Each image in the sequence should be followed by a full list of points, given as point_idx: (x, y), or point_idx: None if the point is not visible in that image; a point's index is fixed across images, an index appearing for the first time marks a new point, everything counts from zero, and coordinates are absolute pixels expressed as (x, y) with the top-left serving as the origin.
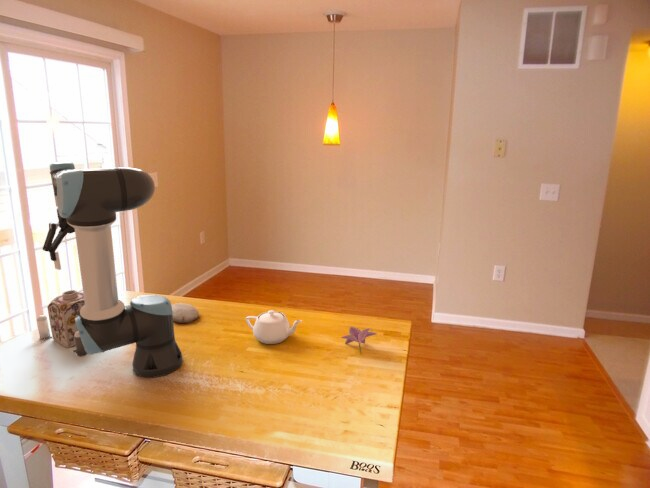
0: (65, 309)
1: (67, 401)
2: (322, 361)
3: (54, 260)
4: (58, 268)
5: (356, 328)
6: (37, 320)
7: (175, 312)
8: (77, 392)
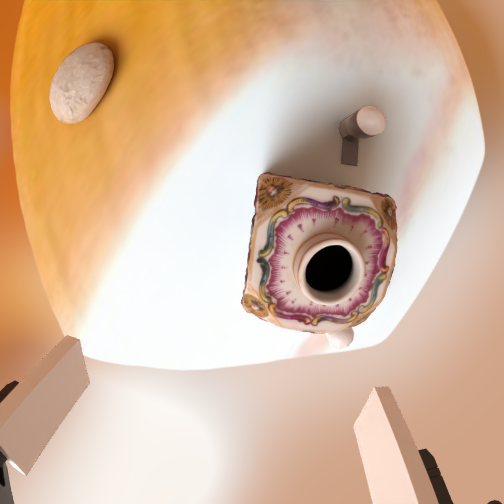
0: (388, 200)
1: (447, 33)
2: None
3: (421, 451)
4: (391, 395)
5: None
6: (353, 334)
7: (94, 67)
8: (429, 33)
